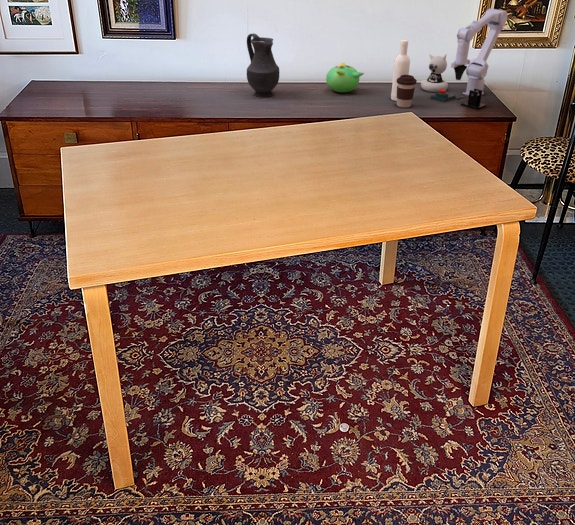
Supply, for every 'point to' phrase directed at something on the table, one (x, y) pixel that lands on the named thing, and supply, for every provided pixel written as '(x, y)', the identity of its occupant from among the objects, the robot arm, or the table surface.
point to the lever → (465, 96)
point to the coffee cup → (405, 90)
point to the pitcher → (261, 66)
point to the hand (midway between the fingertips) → (458, 79)
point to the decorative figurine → (435, 75)
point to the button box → (442, 96)
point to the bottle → (400, 67)
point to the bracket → (474, 100)
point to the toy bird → (343, 78)
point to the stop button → (442, 91)
